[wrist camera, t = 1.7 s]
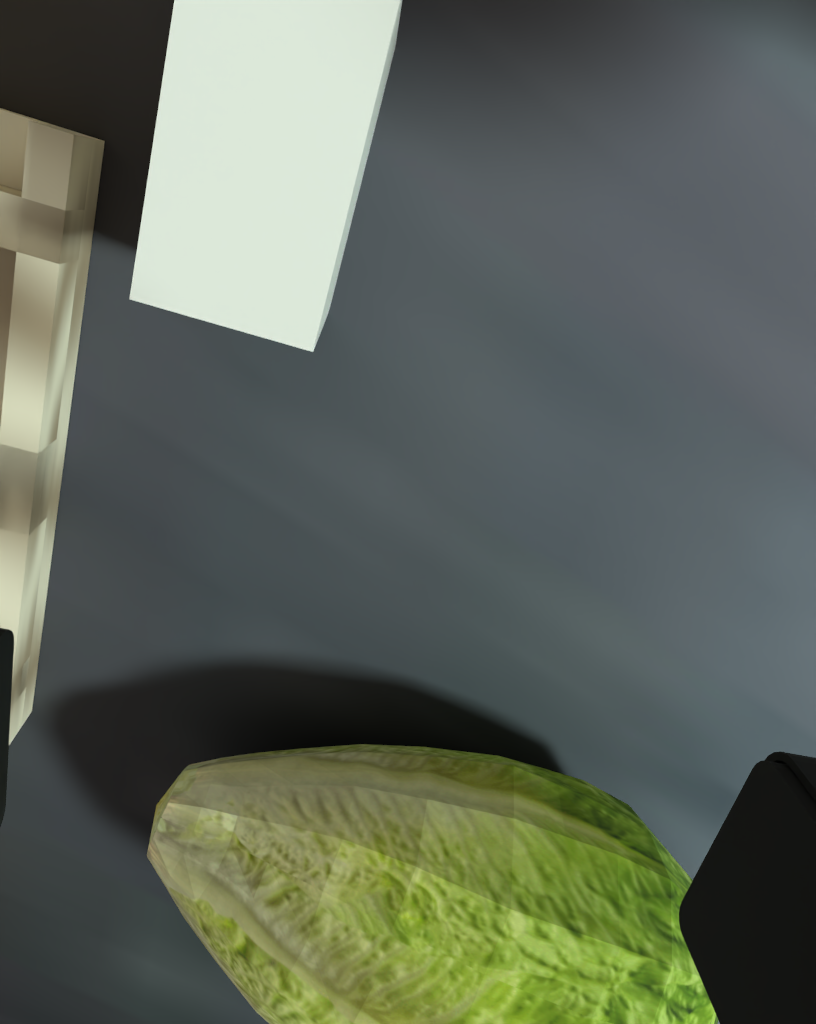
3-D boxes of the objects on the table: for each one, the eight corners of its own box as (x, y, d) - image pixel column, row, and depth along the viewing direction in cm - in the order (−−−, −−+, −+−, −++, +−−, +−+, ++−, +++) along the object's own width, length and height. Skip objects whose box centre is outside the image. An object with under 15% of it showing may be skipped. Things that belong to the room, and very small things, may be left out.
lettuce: (212, 639, 23) (-1, 1116, 20) (831, 885, 25) (718, 1357, 22) (240, 638, 36) (112, 931, 33) (648, 801, 37) (561, 1092, 34)
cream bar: (245, -9, 21) (188, -98, 15) (395, 45, 22) (404, -18, 15) (194, 271, 24) (129, 298, 18) (328, 311, 25) (313, 351, 18)
